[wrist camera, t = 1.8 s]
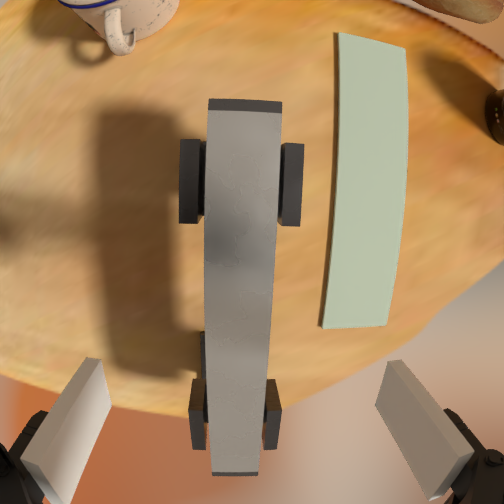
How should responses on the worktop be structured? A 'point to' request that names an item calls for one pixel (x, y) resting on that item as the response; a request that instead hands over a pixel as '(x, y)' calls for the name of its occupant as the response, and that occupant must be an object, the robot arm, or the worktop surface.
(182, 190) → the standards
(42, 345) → the worktop surface
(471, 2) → the bread roll
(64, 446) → the robot arm
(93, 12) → the teacup with lid
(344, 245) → the mat
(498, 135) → the supplement bottle
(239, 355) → the rail
